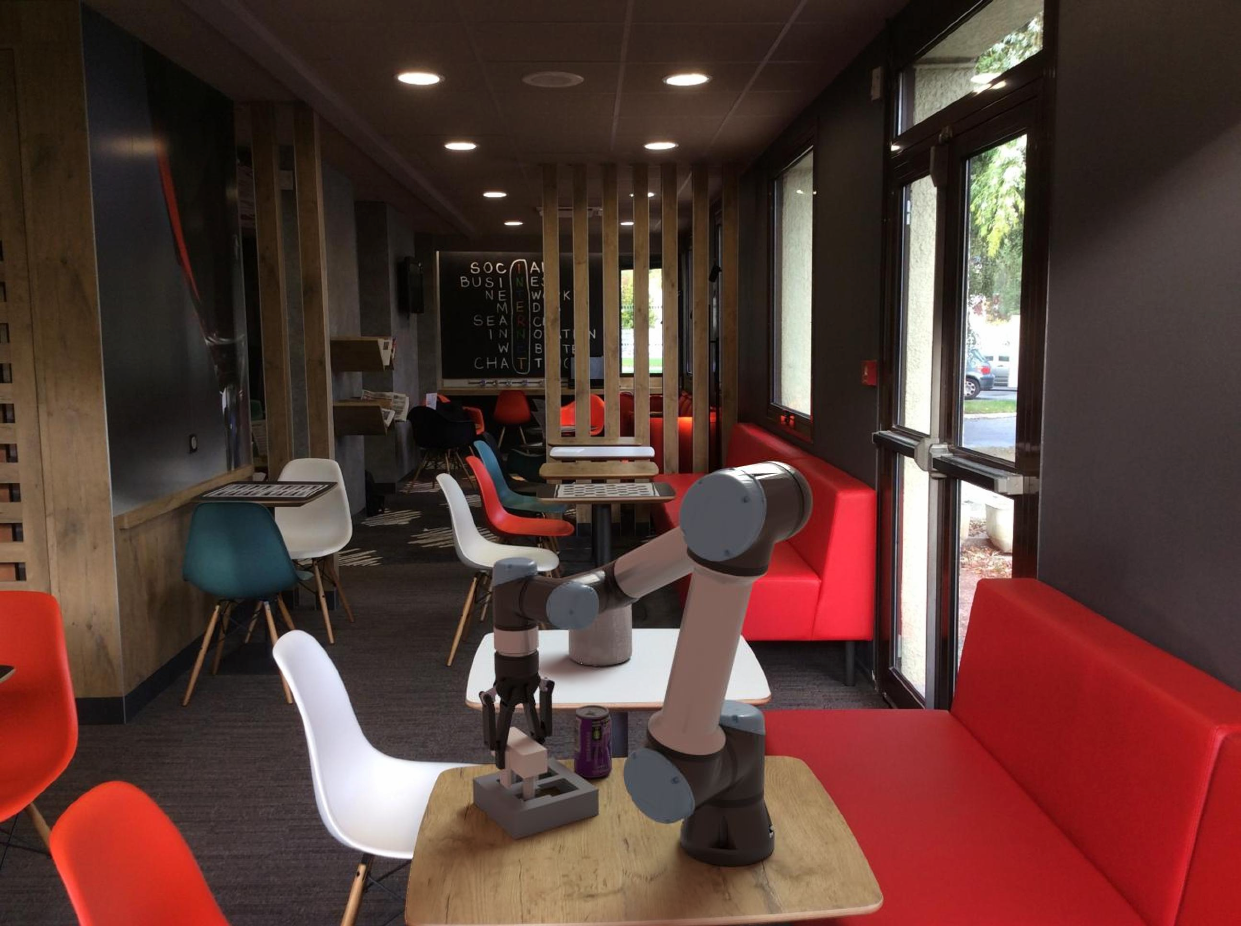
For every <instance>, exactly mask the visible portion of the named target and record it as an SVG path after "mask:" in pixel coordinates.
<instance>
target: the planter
mask: <svg viewBox="0 0 1241 926" xmlns="http://www.w3.org/2000/svg"><path fill="white" fill-rule="evenodd" d="M632 611H633V609H632V604H630V605H628V606H626V607H623V608H617V609H614V610H611V611H608V612H605V613H601V614H599V615H597V617H596V619H595V620H594V622H592V623H591V624H590V626H589V627H588V628H587V629H585V630H581V631H575V630H568V656H569V658H570V659H572V661H574V662H575V663H577V662H578V663H577V664H580V663H582V664H581V665H583V664H587V665H586V666H589V665H596V666H595V667H605V666H604V665H610V666H615V665H614V664H616V665H619V664H618V663H620V664H622V662H623V663H624V661H625V662H626V661H628V660H629V659H630V658H631V657H632V655H633V620H632V619H633V617H632Z"/></svg>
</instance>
